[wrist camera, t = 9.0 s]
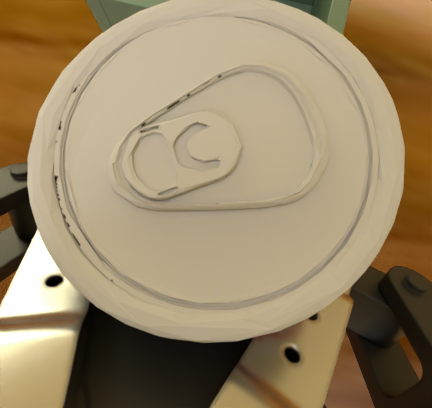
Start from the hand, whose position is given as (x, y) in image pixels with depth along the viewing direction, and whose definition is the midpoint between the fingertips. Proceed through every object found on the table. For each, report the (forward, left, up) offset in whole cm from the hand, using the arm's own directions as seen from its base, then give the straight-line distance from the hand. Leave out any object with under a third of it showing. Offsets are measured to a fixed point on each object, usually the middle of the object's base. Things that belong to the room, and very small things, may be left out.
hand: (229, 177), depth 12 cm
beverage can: (0, -2, -7) cm, 8 cm away
